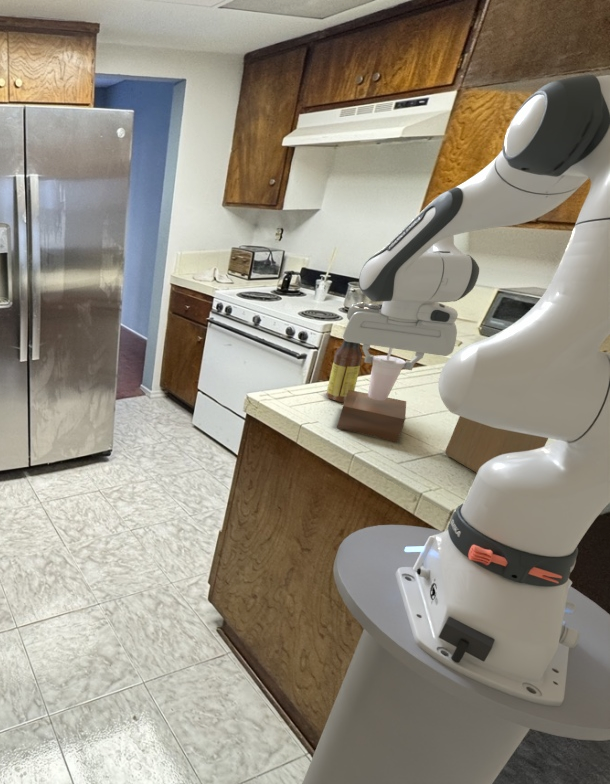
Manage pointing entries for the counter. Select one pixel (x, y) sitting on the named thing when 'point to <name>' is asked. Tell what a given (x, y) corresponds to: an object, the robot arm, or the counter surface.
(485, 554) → the robot arm
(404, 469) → the counter surface
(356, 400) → the walnut block
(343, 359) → the sauce bottle
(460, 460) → the wooden block
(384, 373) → the smoothie
